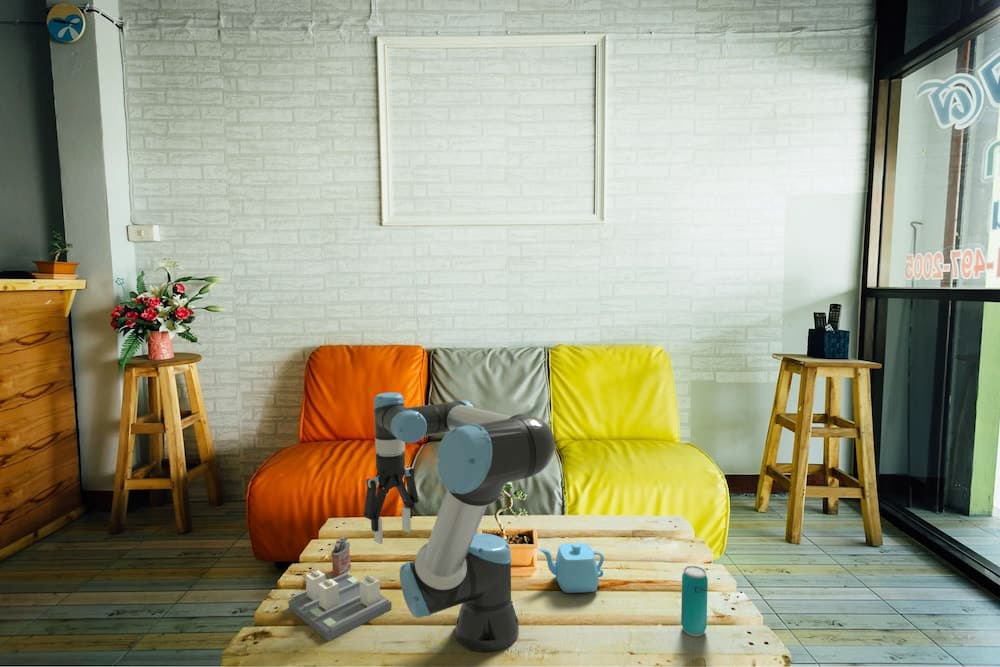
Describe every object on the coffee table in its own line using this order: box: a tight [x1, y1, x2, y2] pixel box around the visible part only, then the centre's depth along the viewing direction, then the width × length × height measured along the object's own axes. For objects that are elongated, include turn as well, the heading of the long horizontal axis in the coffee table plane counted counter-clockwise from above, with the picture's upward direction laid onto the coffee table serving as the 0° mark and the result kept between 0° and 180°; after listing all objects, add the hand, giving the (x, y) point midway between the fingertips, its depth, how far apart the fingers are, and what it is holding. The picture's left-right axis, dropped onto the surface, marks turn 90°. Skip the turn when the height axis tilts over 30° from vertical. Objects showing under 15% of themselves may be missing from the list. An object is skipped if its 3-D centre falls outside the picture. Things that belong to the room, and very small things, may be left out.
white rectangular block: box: [318, 578, 339, 611], centre depth 144 cm, size 4×4×6 cm
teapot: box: [538, 542, 605, 594], centre depth 157 cm, size 12×18×12 cm
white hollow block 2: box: [359, 575, 381, 607], centre depth 146 cm, size 4×4×6 cm
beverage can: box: [680, 565, 709, 638], centre depth 135 cm, size 6×6×15 cm
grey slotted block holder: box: [287, 572, 393, 642], centre depth 147 cm, size 20×18×3 cm
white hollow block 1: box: [305, 569, 327, 601], centre depth 149 cm, size 4×4×6 cm
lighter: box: [330, 535, 352, 579], centre depth 165 cm, size 8×3×10 cm, turn 168°
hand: (392, 536), depth 150 cm, fingers open, 8 cm apart
